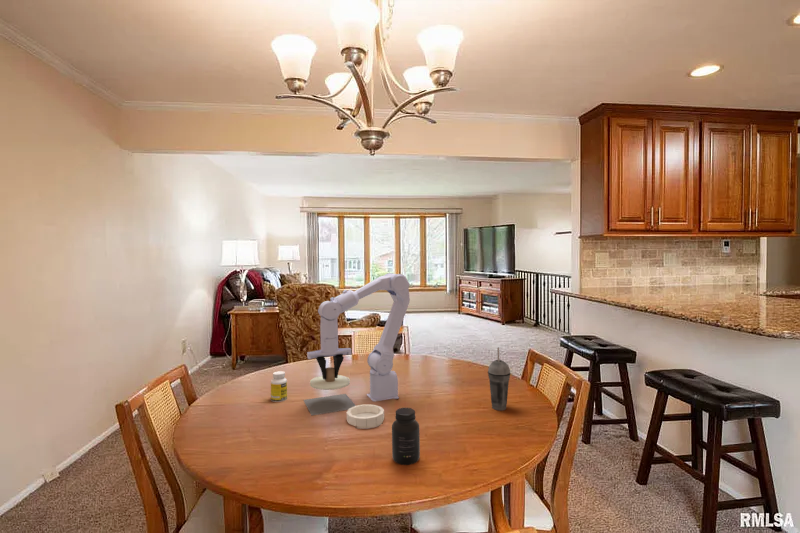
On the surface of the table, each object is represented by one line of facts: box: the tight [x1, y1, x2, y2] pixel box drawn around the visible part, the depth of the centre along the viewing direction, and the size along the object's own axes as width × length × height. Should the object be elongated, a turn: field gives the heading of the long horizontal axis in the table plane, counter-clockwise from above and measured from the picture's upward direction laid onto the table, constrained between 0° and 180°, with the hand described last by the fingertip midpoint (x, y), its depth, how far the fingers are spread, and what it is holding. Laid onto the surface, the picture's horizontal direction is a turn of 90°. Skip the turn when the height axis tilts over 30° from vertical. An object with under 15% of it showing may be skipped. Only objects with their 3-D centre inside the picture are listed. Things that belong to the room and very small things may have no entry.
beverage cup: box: [487, 347, 512, 411], centre depth 133 cm, size 7×7×20 cm
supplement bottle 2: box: [391, 407, 421, 466], centre depth 101 cm, size 7×7×12 cm
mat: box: [303, 393, 357, 416], centre depth 137 cm, size 15×15×1 cm
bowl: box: [346, 403, 385, 430], centre depth 124 cm, size 11×11×3 cm
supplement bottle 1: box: [270, 370, 288, 403], centre depth 142 cm, size 5×5×10 cm
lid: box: [309, 366, 351, 391], centre depth 137 cm, size 13×13×5 cm
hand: (330, 378), depth 137 cm, fingers closed on lid, 3 cm apart
